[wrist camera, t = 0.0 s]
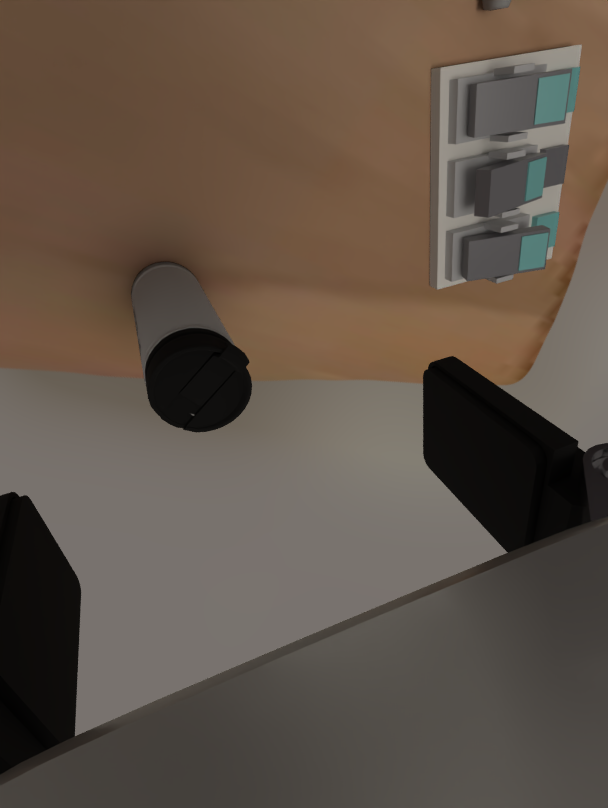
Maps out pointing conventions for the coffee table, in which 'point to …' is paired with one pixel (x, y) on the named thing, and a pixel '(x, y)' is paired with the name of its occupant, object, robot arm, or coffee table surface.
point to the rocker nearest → (518, 103)
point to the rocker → (505, 252)
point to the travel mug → (187, 351)
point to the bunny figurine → (495, 4)
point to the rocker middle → (509, 184)
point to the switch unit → (488, 159)
